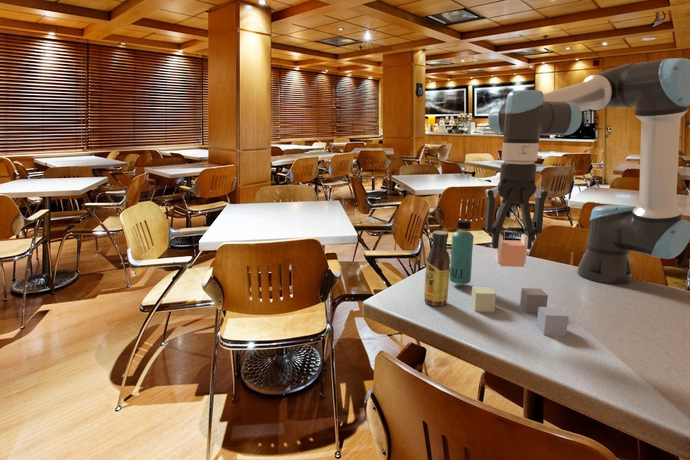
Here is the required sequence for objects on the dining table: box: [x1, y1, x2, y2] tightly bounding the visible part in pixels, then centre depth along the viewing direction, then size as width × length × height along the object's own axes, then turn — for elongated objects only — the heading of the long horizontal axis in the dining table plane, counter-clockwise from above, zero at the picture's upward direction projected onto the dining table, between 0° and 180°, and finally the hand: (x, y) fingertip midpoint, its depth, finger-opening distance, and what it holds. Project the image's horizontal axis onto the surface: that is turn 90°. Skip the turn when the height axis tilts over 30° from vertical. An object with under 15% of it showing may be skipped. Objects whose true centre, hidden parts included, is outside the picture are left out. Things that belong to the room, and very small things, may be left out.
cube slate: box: [536, 306, 569, 337], centre depth 107 cm, size 5×5×5 cm
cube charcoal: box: [519, 287, 549, 314], centre depth 120 cm, size 5×5×5 cm
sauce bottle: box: [423, 230, 451, 307], centre depth 122 cm, size 7×6×20 cm
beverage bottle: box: [449, 219, 475, 285], centre depth 136 cm, size 6×7×20 cm
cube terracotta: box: [498, 239, 526, 268], centre depth 107 cm, size 5×5×5 cm
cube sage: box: [470, 286, 497, 313], centre depth 121 cm, size 5×5×5 cm
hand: (509, 261), depth 108 cm, fingers closed on cube terracotta, 5 cm apart
